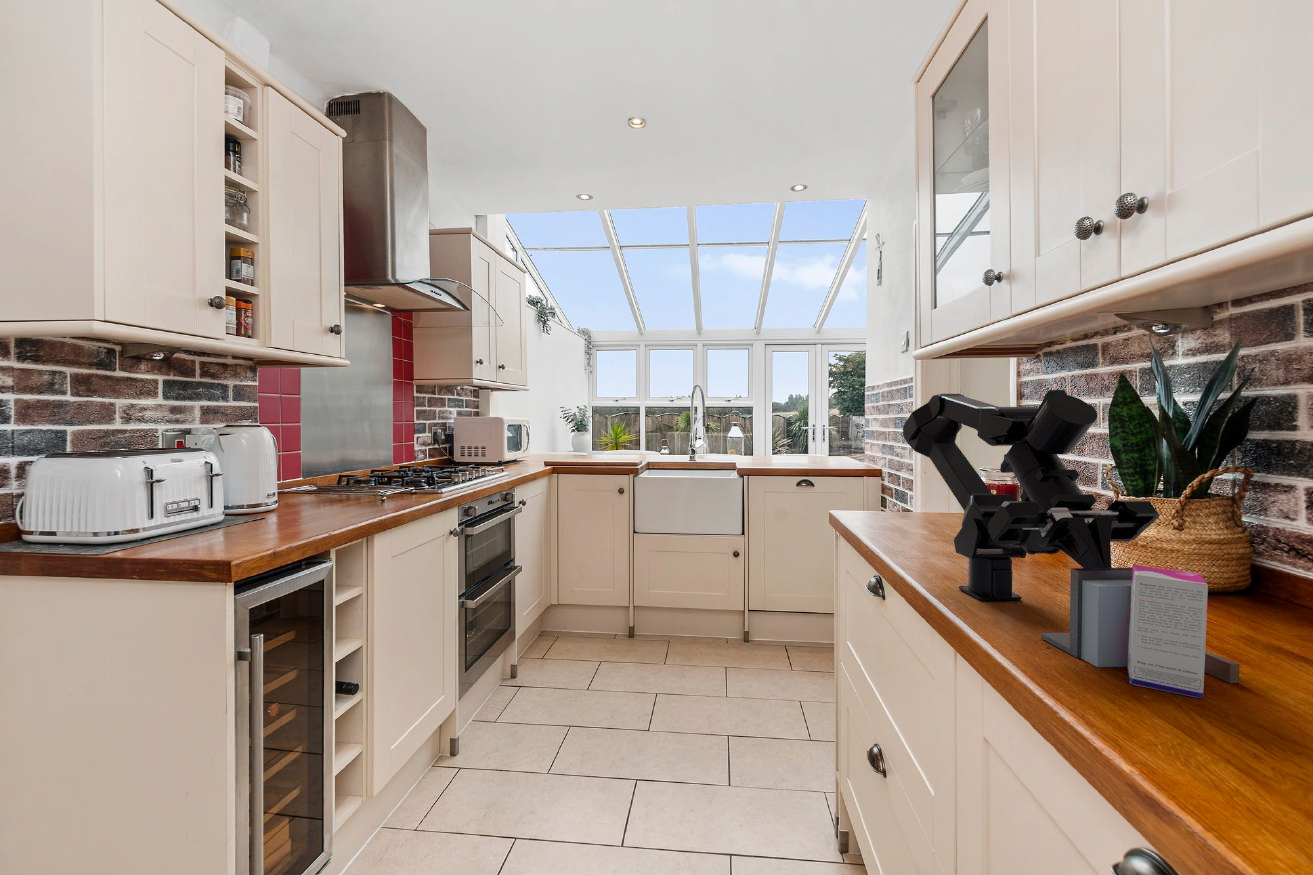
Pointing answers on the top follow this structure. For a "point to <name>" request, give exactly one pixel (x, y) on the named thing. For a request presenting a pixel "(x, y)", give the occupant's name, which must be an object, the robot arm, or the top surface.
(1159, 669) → the supplement box
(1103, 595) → the book
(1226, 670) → the rail
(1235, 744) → the top surface
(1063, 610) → the top surface
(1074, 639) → the bookend
